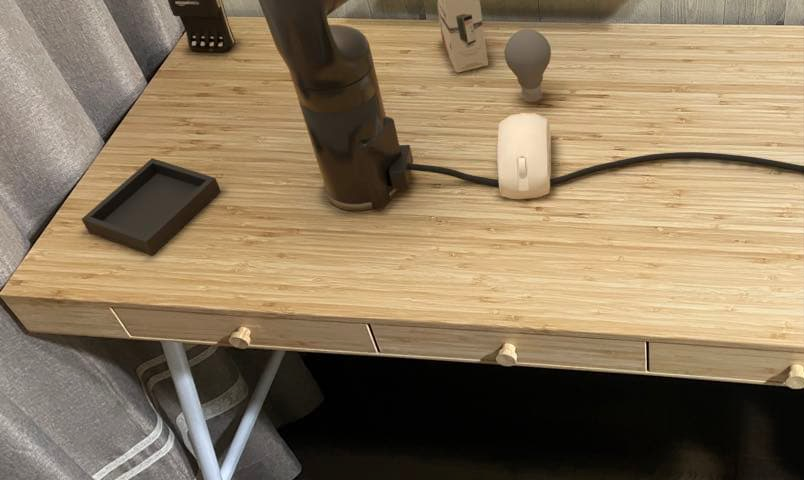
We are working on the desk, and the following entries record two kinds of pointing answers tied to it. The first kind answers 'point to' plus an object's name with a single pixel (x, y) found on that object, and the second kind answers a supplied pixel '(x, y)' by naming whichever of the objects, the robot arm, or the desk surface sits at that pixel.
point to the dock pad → (151, 206)
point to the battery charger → (204, 24)
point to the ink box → (463, 33)
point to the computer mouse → (524, 156)
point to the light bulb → (528, 61)
